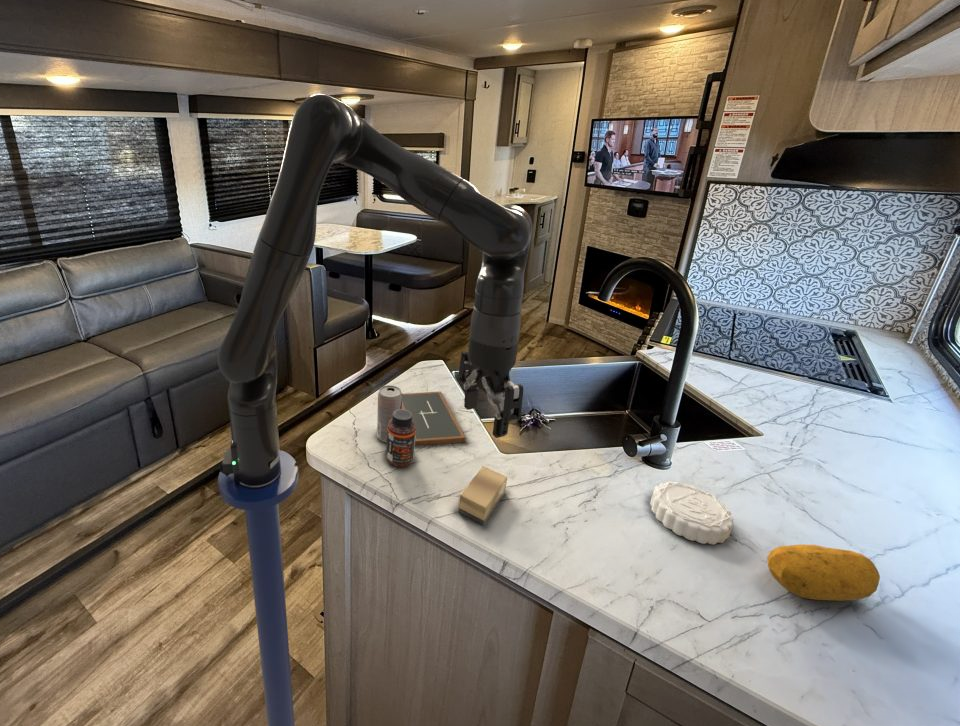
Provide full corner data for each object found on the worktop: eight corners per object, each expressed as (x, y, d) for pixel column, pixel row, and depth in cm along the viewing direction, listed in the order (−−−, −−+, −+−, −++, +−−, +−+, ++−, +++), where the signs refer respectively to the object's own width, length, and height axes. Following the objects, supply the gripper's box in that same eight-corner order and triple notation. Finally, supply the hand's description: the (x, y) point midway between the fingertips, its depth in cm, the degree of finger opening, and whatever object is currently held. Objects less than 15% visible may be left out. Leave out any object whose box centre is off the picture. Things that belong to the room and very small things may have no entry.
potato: (745, 564, 74) (759, 531, 72) (841, 572, 73) (858, 538, 71) (779, 607, 68) (795, 572, 65) (885, 616, 67) (906, 581, 64)
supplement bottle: (390, 470, 95) (391, 424, 91) (382, 451, 100) (384, 407, 96) (417, 466, 96) (420, 420, 92) (409, 448, 102) (411, 404, 98)
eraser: (483, 525, 82) (485, 508, 80) (458, 512, 85) (459, 494, 83) (505, 493, 89) (507, 476, 88) (480, 481, 92) (482, 465, 91)
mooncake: (699, 554, 76) (705, 538, 75) (635, 503, 87) (639, 488, 85) (745, 533, 80) (751, 517, 79) (678, 487, 91) (683, 472, 90)
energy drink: (401, 431, 107) (403, 386, 103) (398, 445, 103) (400, 398, 98) (379, 427, 109) (380, 383, 104) (374, 441, 104) (375, 395, 100)
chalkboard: (413, 445, 102) (414, 441, 102) (396, 397, 121) (396, 393, 121) (465, 441, 104) (466, 437, 103) (440, 395, 122) (440, 391, 122)
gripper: (450, 321, 78) (443, 403, 83) (501, 357, 65) (490, 451, 71) (487, 316, 80) (479, 396, 86) (544, 349, 67) (529, 441, 73)
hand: (484, 421), depth 78 cm, fingers open, 8 cm apart
